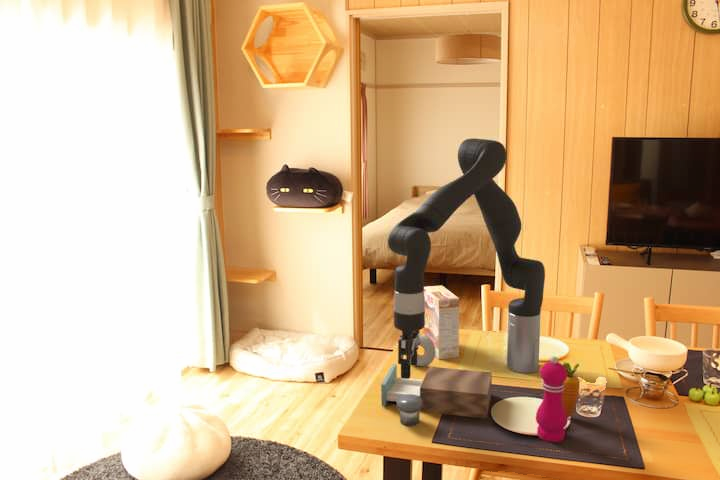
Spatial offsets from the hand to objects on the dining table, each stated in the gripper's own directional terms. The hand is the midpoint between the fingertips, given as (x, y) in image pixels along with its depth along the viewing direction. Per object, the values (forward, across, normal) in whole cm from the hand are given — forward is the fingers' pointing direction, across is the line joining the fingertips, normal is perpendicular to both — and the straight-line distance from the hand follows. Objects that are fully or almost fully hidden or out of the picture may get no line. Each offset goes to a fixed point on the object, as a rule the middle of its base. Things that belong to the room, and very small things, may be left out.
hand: (409, 371), depth 160 cm
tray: (+13, +13, 0) cm, 19 cm away
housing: (+13, +13, -10) cm, 21 cm away
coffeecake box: (+13, +49, 0) cm, 51 cm away
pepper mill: (+14, +1, -34) cm, 37 cm away
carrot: (+14, +11, -38) cm, 42 cm away
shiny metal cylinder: (+14, 0, 0) cm, 14 cm away
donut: (+14, +35, +4) cm, 38 cm away
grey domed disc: (+10, 0, 0) cm, 10 cm away
